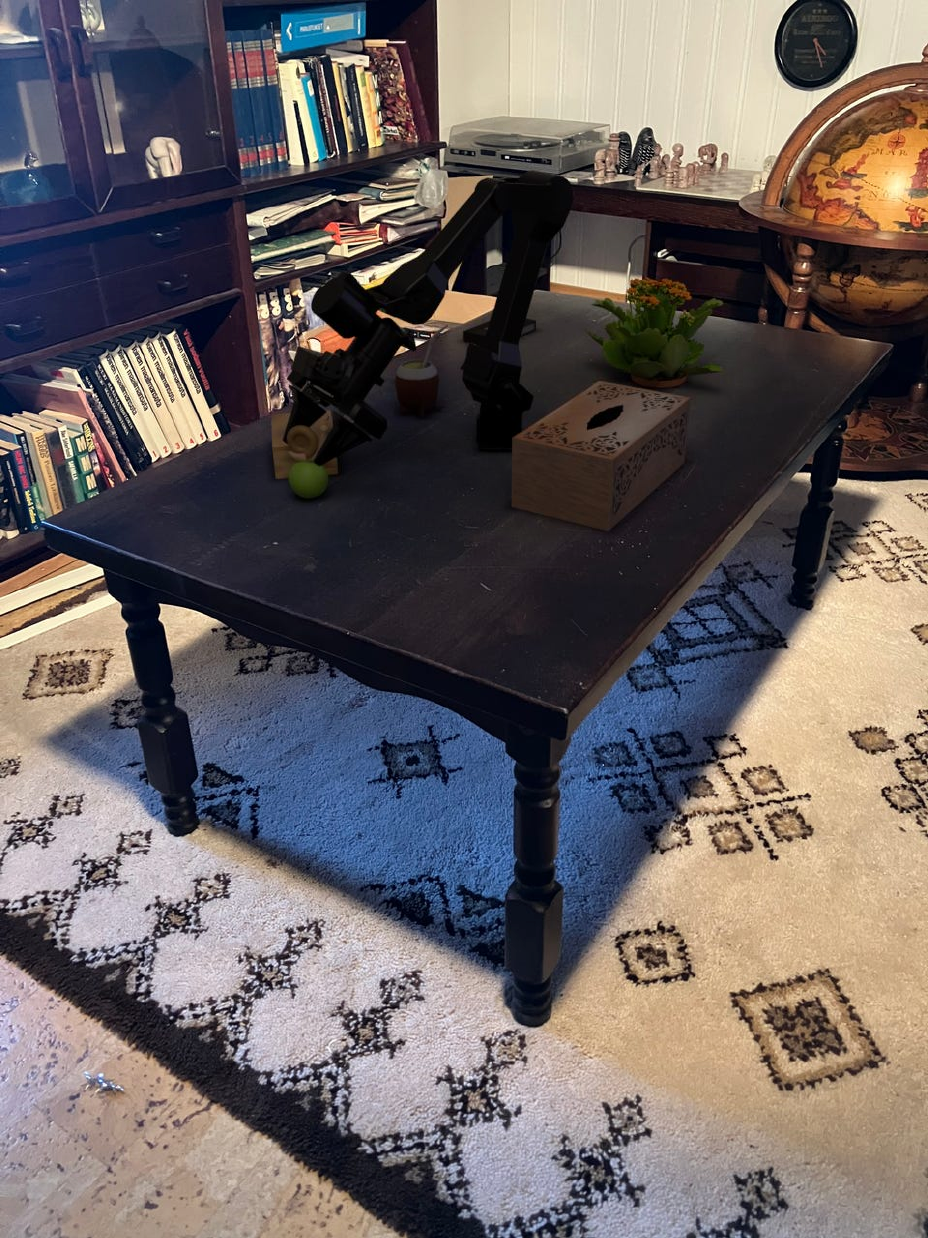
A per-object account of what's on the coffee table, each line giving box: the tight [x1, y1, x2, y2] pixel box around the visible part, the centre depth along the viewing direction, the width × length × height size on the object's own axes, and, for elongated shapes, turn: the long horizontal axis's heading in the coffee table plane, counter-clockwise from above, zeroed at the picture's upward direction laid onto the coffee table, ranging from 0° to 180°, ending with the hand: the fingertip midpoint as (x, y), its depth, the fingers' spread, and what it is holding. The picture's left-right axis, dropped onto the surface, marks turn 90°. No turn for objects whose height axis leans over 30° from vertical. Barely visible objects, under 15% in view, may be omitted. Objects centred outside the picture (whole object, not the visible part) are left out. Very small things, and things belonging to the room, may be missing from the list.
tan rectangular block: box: [270, 409, 339, 480], centre depth 156 cm, size 9×13×5 cm
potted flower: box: [584, 276, 724, 389], centre depth 180 cm, size 25×24×18 cm
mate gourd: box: [394, 324, 449, 419], centre depth 170 cm, size 8×8×15 cm
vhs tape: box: [462, 318, 537, 345], centre depth 208 cm, size 8×14×2 cm, turn 141°
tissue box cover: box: [511, 380, 692, 533], centre depth 146 cm, size 26×14×10 cm, turn 148°
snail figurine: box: [287, 415, 330, 499], centre depth 143 cm, size 5×6×12 cm
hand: (300, 453), depth 142 cm, fingers open, 9 cm apart
